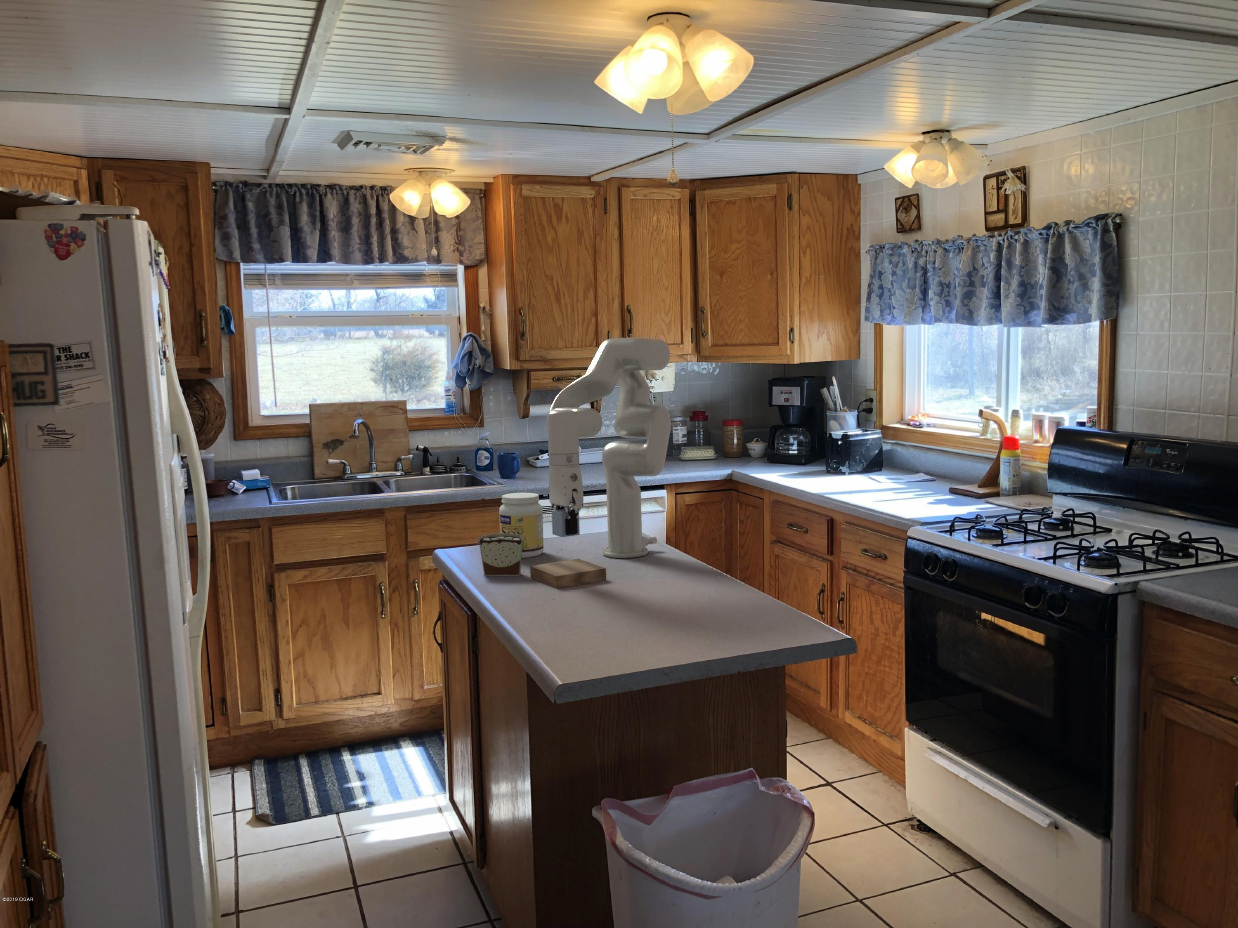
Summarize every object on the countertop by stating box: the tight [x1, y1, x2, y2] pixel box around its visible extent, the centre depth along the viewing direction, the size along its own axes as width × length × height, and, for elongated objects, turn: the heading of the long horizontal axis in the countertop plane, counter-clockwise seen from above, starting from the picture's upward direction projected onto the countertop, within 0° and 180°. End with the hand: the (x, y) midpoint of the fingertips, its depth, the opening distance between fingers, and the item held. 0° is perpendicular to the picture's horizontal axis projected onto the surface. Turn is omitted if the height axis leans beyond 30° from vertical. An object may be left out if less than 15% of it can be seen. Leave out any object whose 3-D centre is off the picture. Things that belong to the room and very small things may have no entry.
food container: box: [476, 532, 525, 577], centre depth 257 cm, size 12×6×10 cm, turn 84°
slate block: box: [551, 509, 580, 538], centre depth 247 cm, size 5×5×6 cm
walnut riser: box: [529, 558, 607, 589], centre depth 249 cm, size 14×14×3 cm
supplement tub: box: [498, 492, 545, 559], centre depth 279 cm, size 12×12×17 cm
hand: (566, 531), depth 247 cm, fingers closed on slate block, 5 cm apart
